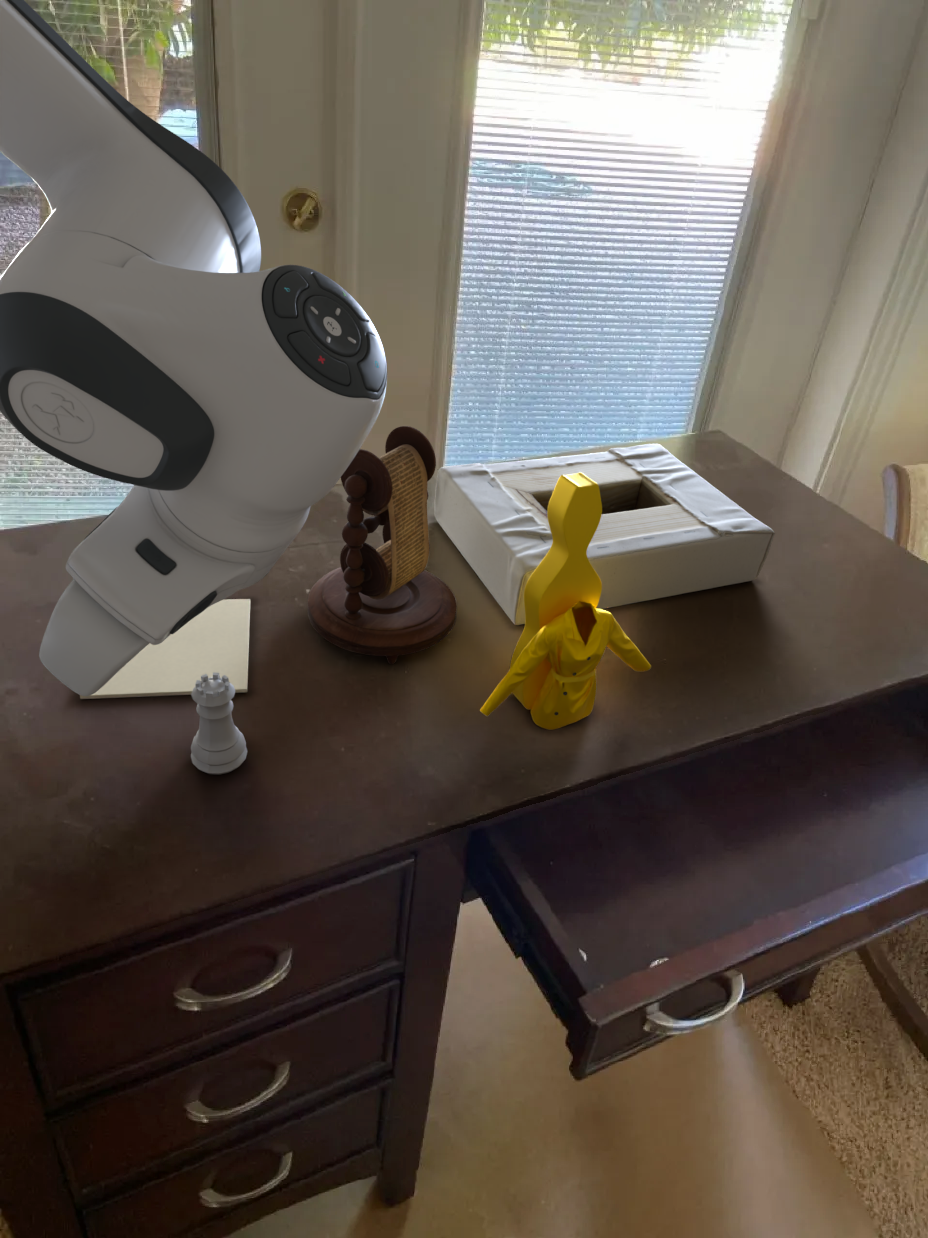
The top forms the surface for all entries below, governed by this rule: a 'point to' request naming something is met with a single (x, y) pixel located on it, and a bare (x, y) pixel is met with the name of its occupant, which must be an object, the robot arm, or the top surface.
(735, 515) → the box
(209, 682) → the rook chess piece
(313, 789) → the top surface
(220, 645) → the linen mat
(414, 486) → the scroll
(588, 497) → the yellow coat with case
